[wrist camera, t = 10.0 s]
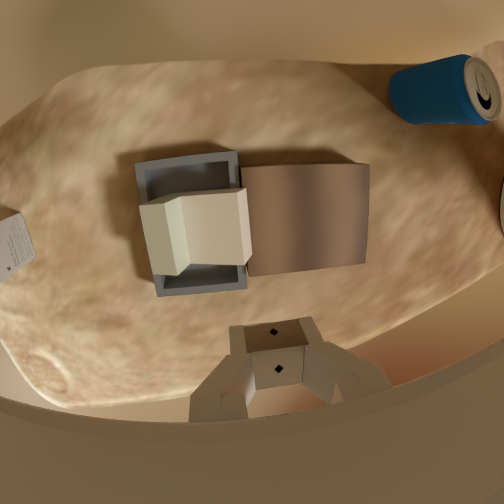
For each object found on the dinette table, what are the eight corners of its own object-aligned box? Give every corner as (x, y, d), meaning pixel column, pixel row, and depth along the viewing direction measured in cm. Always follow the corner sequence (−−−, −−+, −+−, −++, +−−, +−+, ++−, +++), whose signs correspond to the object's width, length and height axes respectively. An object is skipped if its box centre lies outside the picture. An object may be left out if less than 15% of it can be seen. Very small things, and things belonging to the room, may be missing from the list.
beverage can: (391, 125, 26) (471, 124, 14) (379, 70, 23) (453, 46, 12) (431, 123, 26) (508, 126, 15) (421, 73, 23) (494, 59, 12)
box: (235, 150, 25) (237, 150, 23) (245, 277, 30) (247, 288, 28) (141, 162, 25) (134, 163, 22) (161, 285, 29) (157, 296, 27)
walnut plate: (355, 162, 27) (369, 164, 24) (353, 252, 30) (365, 263, 28) (238, 166, 26) (241, 168, 23) (246, 264, 29) (249, 276, 27)
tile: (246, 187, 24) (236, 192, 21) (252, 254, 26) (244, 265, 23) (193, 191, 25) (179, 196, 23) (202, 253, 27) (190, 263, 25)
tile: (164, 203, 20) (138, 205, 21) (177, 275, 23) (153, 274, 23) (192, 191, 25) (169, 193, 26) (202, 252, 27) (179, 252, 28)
